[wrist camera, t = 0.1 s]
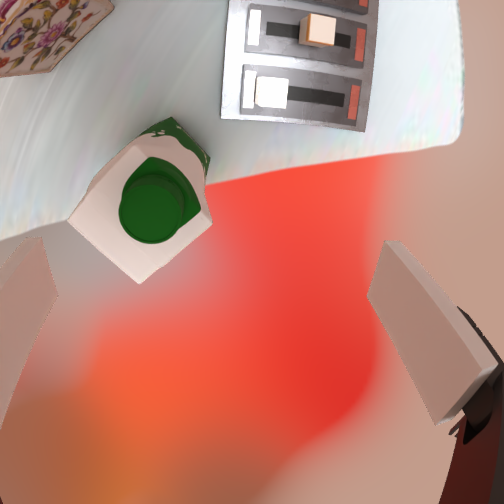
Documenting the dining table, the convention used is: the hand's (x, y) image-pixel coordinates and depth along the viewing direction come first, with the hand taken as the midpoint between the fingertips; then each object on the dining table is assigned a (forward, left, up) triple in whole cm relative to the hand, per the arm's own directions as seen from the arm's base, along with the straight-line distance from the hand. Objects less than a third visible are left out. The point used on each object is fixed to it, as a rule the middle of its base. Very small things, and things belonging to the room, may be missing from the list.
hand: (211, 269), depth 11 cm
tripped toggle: (-13, +9, -24) cm, 28 cm away
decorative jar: (-17, -20, -28) cm, 39 cm away
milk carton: (+3, -5, -28) cm, 29 cm away
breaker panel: (-13, +9, -28) cm, 32 cm away
